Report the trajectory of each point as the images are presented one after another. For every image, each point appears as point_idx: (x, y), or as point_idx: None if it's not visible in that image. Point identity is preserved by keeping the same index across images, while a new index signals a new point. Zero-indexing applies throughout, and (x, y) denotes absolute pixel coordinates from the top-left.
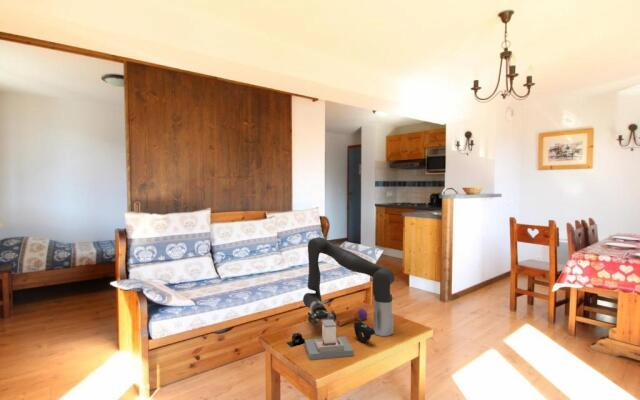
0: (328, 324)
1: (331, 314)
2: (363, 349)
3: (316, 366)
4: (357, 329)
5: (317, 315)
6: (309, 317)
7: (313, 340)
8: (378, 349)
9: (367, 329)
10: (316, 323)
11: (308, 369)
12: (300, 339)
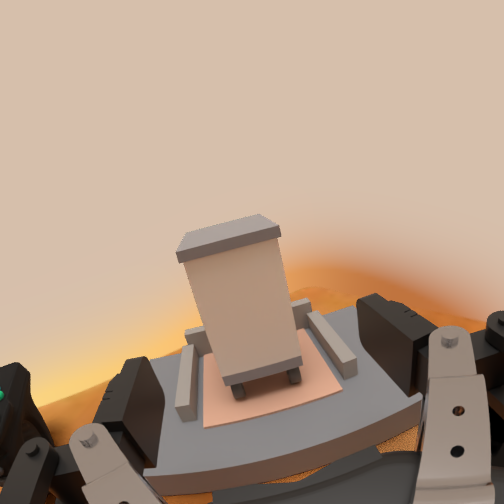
0: (234, 222)
1: (79, 468)
2: (94, 416)
3: (319, 311)
4: (21, 438)
5: (420, 451)
6: (496, 320)
7: (378, 402)
8: (48, 410)
9: (11, 372)
10: (363, 329)
11: (343, 297)
12: (490, 425)
